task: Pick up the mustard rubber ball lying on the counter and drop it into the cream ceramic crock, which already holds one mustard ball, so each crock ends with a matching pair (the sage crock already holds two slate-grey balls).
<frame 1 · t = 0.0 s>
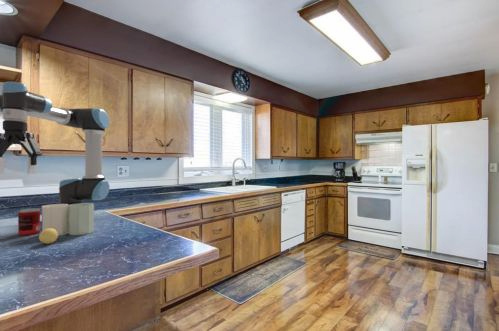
hand: (15, 173, 107), 28 cm above the counter, tool pointing down, fingers open, 13 cm apart
crock sage: (81, 232, 123), on the counter
crock cream: (55, 234, 120), on the counter
ball loose: (48, 235, 106), point 3 cm above the counter
ball cream 1: (55, 226, 120), point 3 cm above the counter, touching crock cream
ball sage 2: (79, 212, 122), point 9 cm above the counter, tilted 25°, touching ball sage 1
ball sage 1: (82, 224, 123), point 3 cm above the counter, tilted 8°, touching ball sage 2, crock sage
canned food: (29, 234, 121), on the counter
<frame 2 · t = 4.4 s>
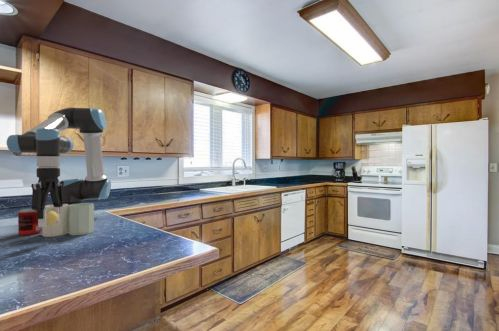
hand: (49, 224, 106), 7 cm above the counter, tool pointing down, fingers closed on ball loose, 6 cm apart
ball loose: (49, 218, 106), point 10 cm above the counter, touching gripper
ball sage 2: (79, 213, 122), point 9 cm above the counter, tilted 48°, touching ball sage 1, crock sage
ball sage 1: (82, 224, 124), point 3 cm above the counter, tilted 19°, touching ball sage 2, crock sage
everything else where it was.
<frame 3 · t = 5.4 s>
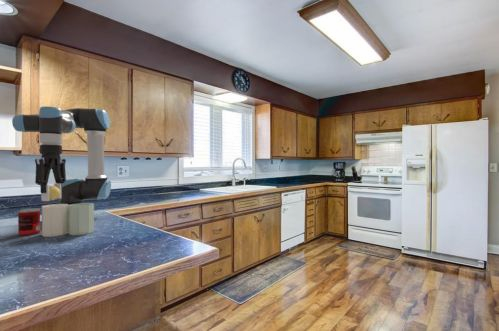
hand: (51, 199, 111), 17 cm above the counter, tool pointing down, fingers closed on ball loose, 6 cm apart
ball loose: (51, 193, 111), point 20 cm above the counter, touching gripper
everything else where it was.
when the fingers open (15 cm above the counter, at t = 6.6 s): ball loose drops 8 cm and tips over, resting on ball cream 1, crock cream.
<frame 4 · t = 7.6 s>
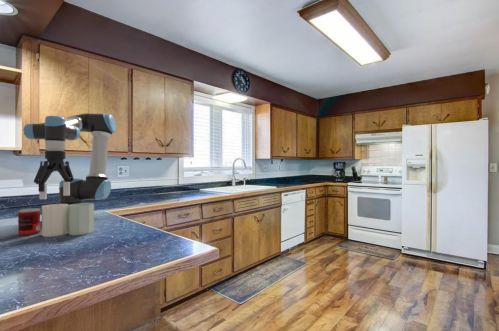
hand: (55, 197, 120), 17 cm above the counter, tool pointing down, fingers open, 13 cm apart
ball loose: (54, 213, 121), point 9 cm above the counter, tilted 57°, touching ball cream 1, crock cream
ball cream 1: (57, 226, 120), point 3 cm above the counter, tilted 19°, touching ball loose, crock cream
everything else where it was.
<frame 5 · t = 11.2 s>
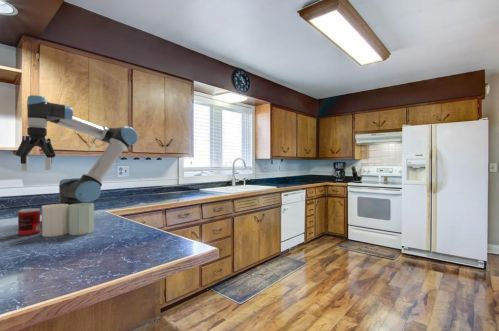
hand: (37, 170, 131), 29 cm above the counter, tool pointing down, fingers open, 13 cm apart
nothing on the counter moved.
at the end: ball loose inside the target area on the crock cream (1.1 cm from its centre), point 9.1 cm above the crock cream's base; the gripper is holding nothing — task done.
